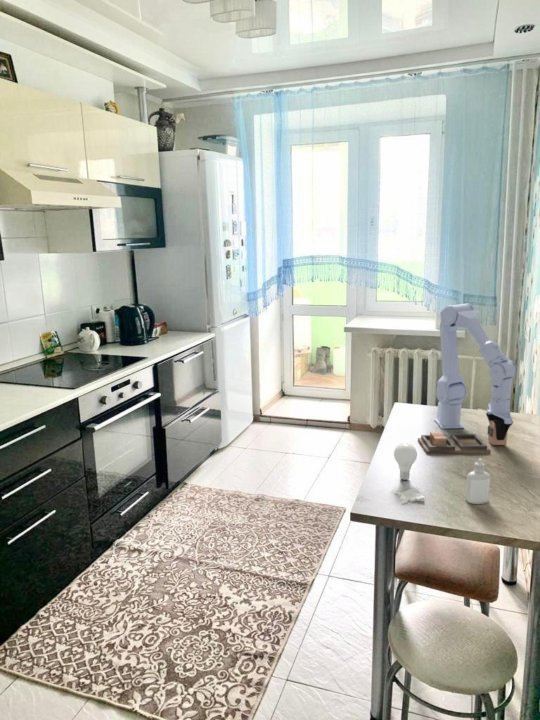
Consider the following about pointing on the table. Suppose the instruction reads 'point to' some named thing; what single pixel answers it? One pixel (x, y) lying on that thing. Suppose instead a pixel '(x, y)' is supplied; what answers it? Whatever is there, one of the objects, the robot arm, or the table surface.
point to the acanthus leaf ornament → (410, 495)
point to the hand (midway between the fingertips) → (497, 436)
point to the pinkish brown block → (494, 435)
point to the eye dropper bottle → (478, 484)
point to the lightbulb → (405, 458)
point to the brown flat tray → (452, 444)
